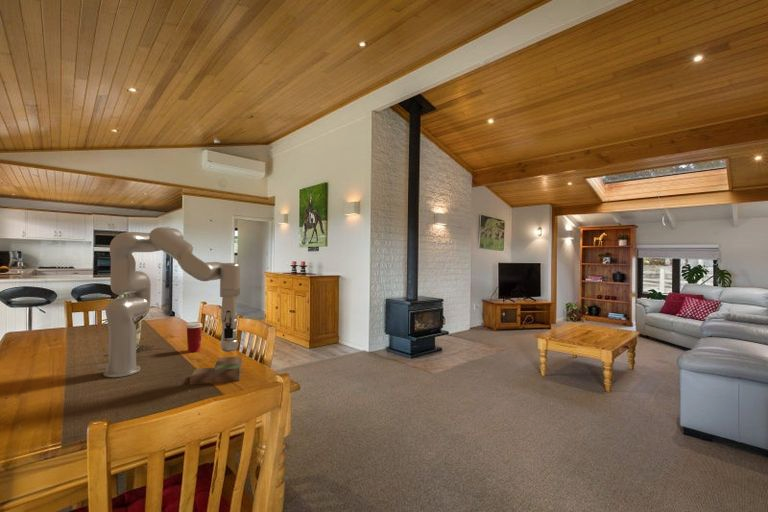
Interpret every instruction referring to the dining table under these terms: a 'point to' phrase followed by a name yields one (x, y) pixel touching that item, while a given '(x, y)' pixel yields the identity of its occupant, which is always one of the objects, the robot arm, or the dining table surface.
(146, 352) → the dining table surface
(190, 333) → the paper cup
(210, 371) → the step stand
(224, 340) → the plastic bottle
